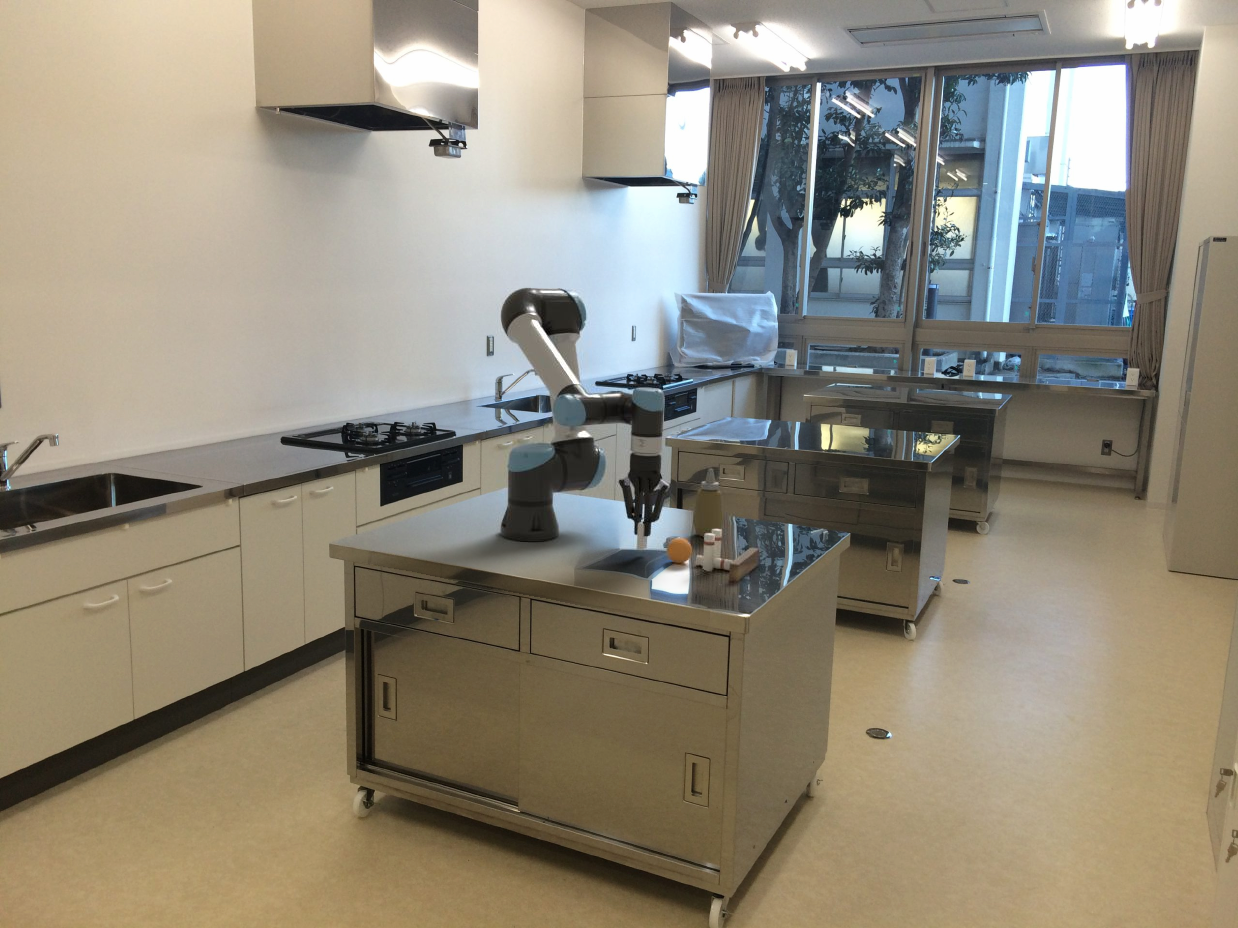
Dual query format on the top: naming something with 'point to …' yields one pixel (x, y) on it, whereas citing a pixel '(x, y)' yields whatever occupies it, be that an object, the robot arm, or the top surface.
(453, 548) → the top surface
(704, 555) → the pin
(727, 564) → the front pin
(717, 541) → the pin
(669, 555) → the orange ball
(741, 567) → the wall
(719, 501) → the squeeze bottle
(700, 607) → the top surface
